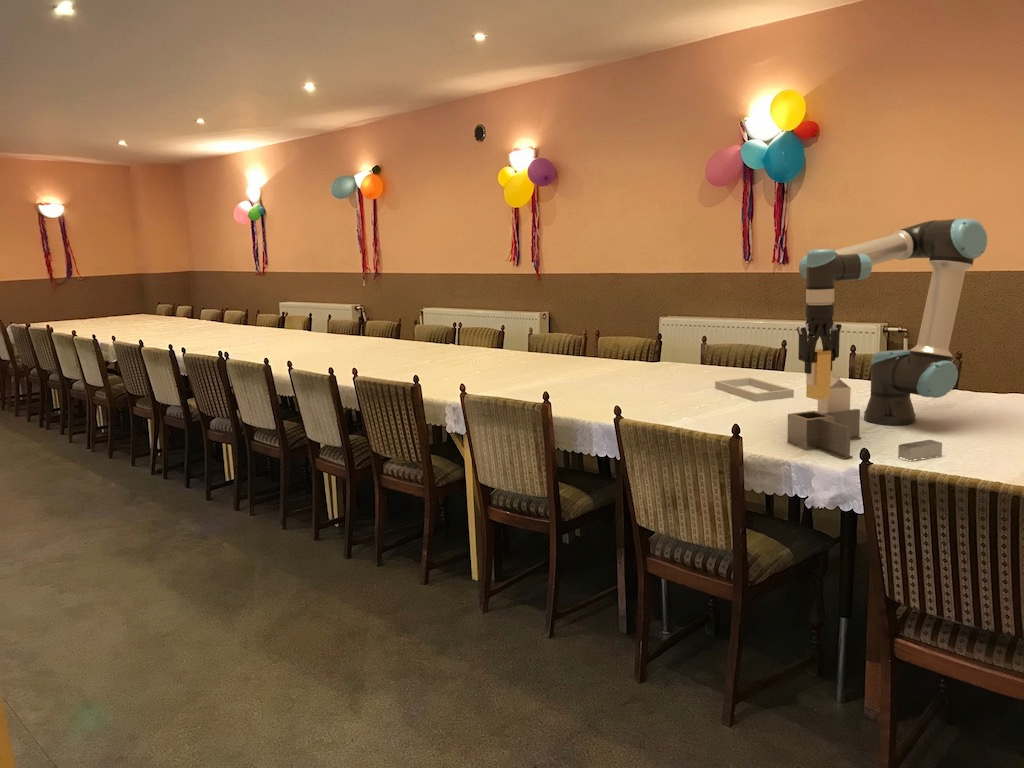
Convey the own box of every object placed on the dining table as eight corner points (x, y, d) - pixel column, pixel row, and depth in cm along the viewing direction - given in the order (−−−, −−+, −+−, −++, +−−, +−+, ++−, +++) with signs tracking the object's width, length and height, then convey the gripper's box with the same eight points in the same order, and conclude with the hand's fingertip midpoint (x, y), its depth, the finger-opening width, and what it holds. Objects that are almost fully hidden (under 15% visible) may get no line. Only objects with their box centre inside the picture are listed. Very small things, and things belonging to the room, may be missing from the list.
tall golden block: (819, 395, 223) (820, 348, 220) (830, 398, 218) (831, 350, 216) (806, 396, 221) (807, 350, 219) (816, 399, 217) (817, 351, 214)
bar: (929, 453, 210) (930, 439, 209) (941, 456, 206) (942, 442, 205) (898, 458, 206) (898, 444, 206) (909, 462, 203) (910, 448, 202)
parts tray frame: (750, 384, 317) (750, 377, 317) (793, 397, 288) (793, 389, 288) (715, 388, 313) (715, 381, 313) (755, 401, 284) (755, 393, 284)
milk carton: (838, 429, 238) (840, 371, 235) (849, 435, 231) (851, 374, 228) (816, 431, 238) (818, 372, 235) (826, 436, 231) (828, 376, 228)
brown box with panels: (847, 434, 232) (848, 406, 230) (898, 451, 212) (899, 420, 210) (787, 442, 227) (787, 413, 225) (833, 460, 207) (834, 429, 205)
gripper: (837, 300, 221) (835, 378, 225) (785, 305, 216) (784, 384, 220) (855, 302, 214) (852, 382, 218) (801, 306, 209) (800, 388, 213)
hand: (818, 383), depth 219 cm, fingers closed on tall golden block, 5 cm apart
